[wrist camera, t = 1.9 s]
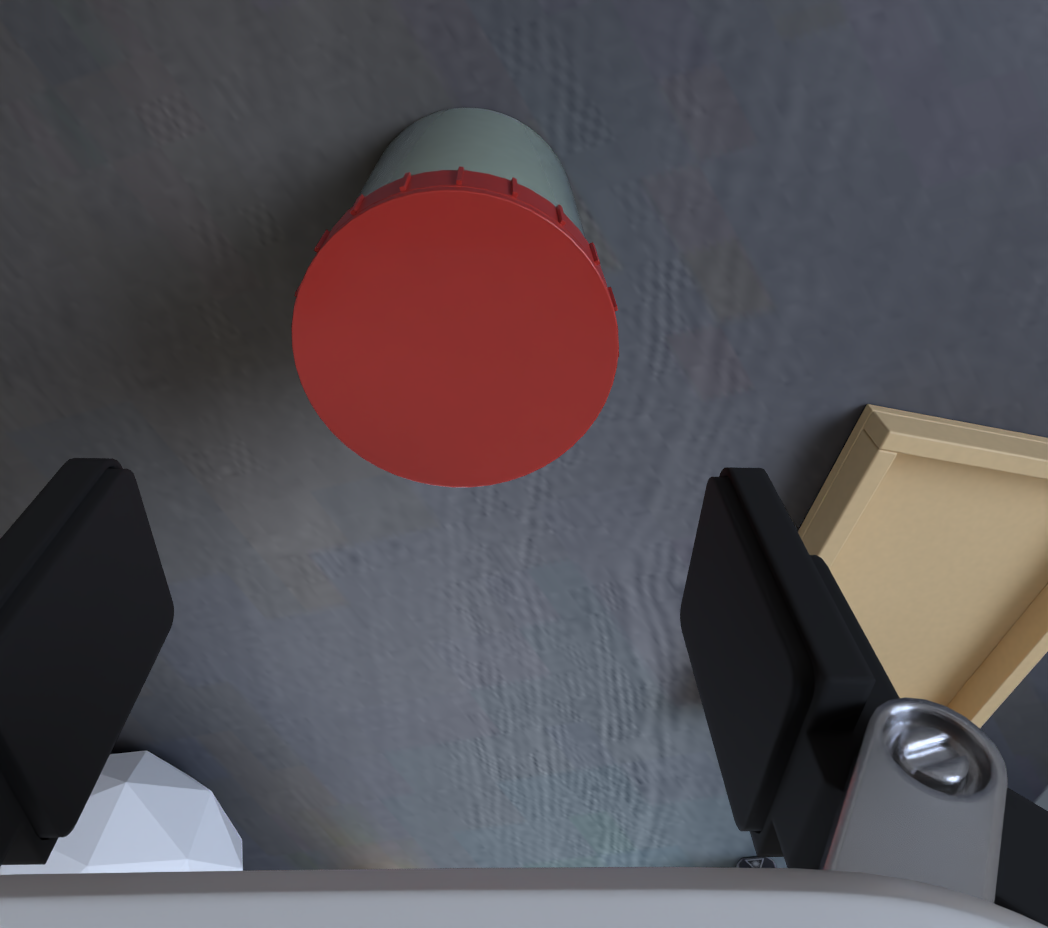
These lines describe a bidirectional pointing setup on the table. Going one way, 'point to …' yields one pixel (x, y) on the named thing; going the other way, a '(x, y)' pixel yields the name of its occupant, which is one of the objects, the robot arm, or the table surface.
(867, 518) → the tray
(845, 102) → the table surface
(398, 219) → the jar lid
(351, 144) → the table surface
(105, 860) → the geodesic sphere
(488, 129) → the jam jar
